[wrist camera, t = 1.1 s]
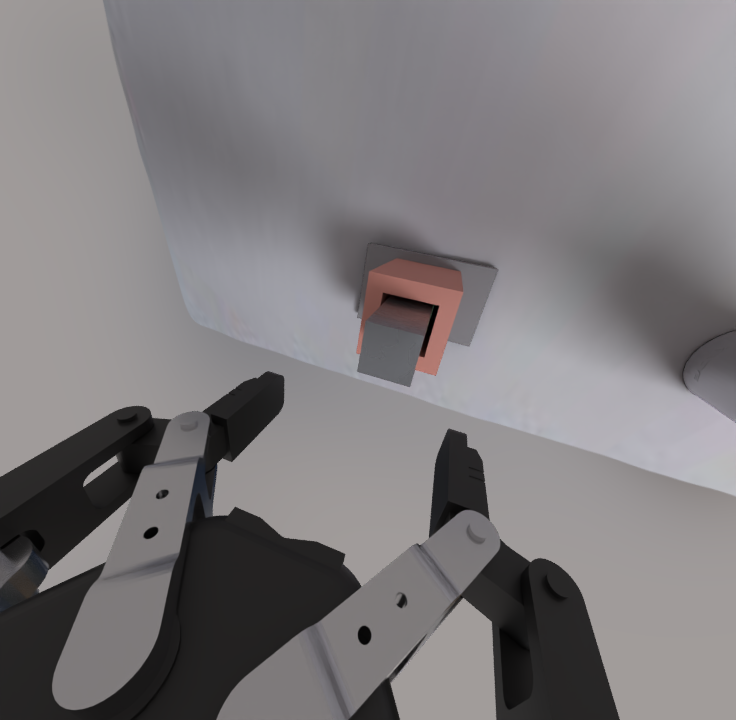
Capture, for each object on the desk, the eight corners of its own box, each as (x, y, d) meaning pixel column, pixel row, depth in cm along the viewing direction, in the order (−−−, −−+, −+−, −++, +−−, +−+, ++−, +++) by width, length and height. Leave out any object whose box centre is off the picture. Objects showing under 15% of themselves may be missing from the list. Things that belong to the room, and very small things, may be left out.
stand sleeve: (496, 268, 32) (524, 293, 19) (468, 342, 37) (475, 402, 24) (371, 243, 35) (322, 250, 22) (360, 314, 40) (314, 355, 27)
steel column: (439, 284, 33) (425, 335, 17) (431, 316, 35) (410, 388, 19) (407, 277, 34) (365, 320, 18) (400, 308, 36) (356, 371, 20)
